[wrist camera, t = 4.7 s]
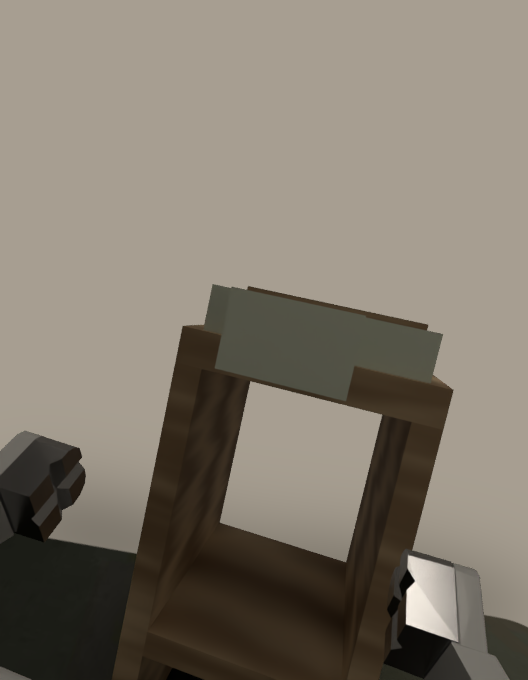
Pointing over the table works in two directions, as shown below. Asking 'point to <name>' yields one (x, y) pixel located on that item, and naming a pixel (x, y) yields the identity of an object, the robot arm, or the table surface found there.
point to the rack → (264, 553)
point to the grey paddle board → (312, 342)
